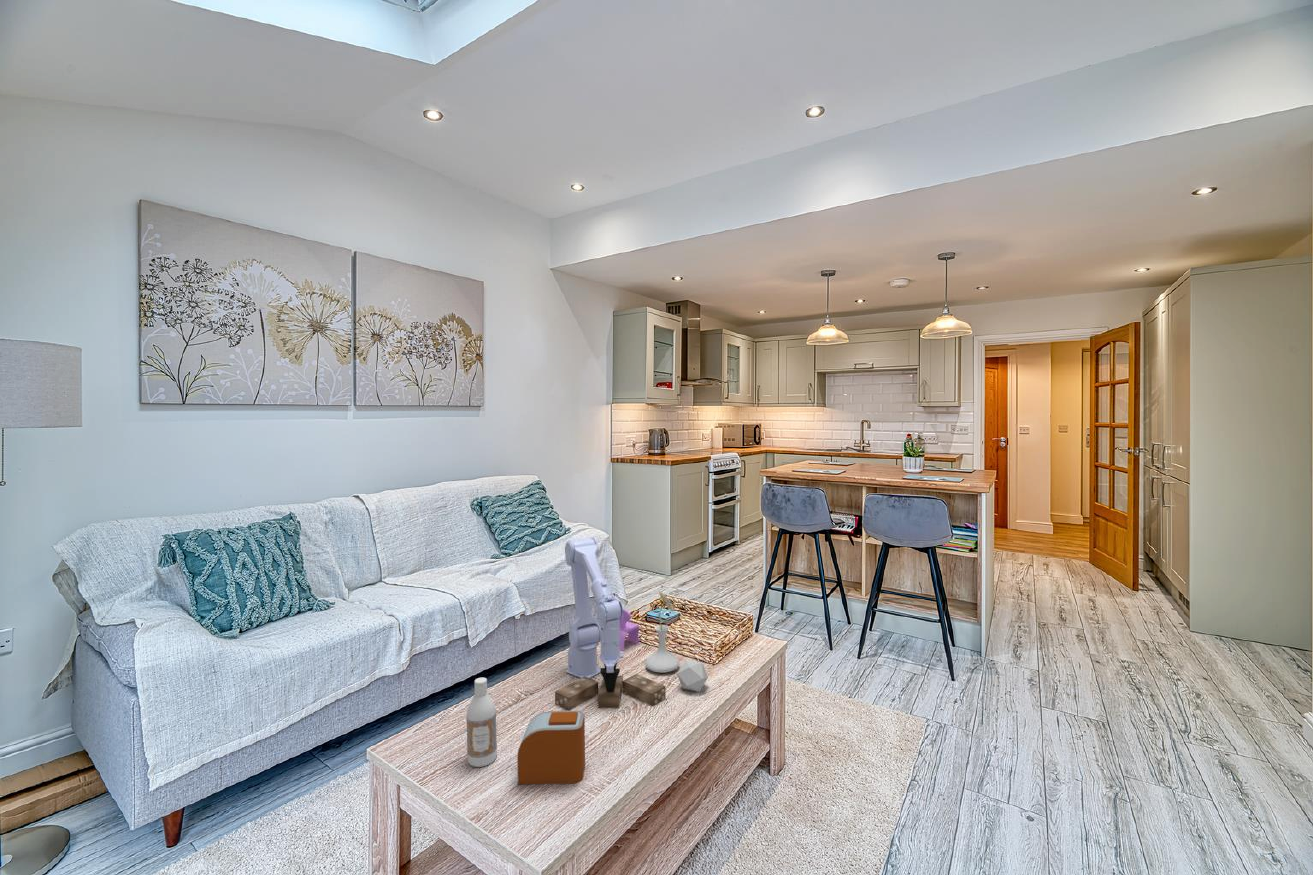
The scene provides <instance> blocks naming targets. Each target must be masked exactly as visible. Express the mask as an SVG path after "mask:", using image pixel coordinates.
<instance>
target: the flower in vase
mask: <svg viewBox="0 0 1313 875" xmlns="http://www.w3.org/2000/svg"><path fill="white" fill-rule="evenodd" d="M658 595H659V596H660V598H661V600H662V605H661V608H660V609H659V612H657V615H658V619H659V624H658V625H656V626H654V630H655V631H656V633H657V637H658V648H657V649H656V651H655V652H652V654H650V655H649V656H648V657H647V658H646V660H645V666H646V668H647V669H648V670H649V671H651V672H655V673H669V672H673V671H675V670H677V668H679V666H680V661H679V659H678V658H677V657H676V655H675V654H673V653H671V652H670V651H669V650H668V649H667V646H666V638H667V632H668V631H669V630H670V626H668V625H667V624H662V623H664V622H665V621H667V619H664V620H662V617H661V612H662V609H663V608H664V605H665V606H666V607H667V608H668V610H670V612H674V611H675V609H674V606H673V605H672V603H671V600H670V599H669V598H667V595H666V594H665V593H663V591H659V593H658Z"/></svg>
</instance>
